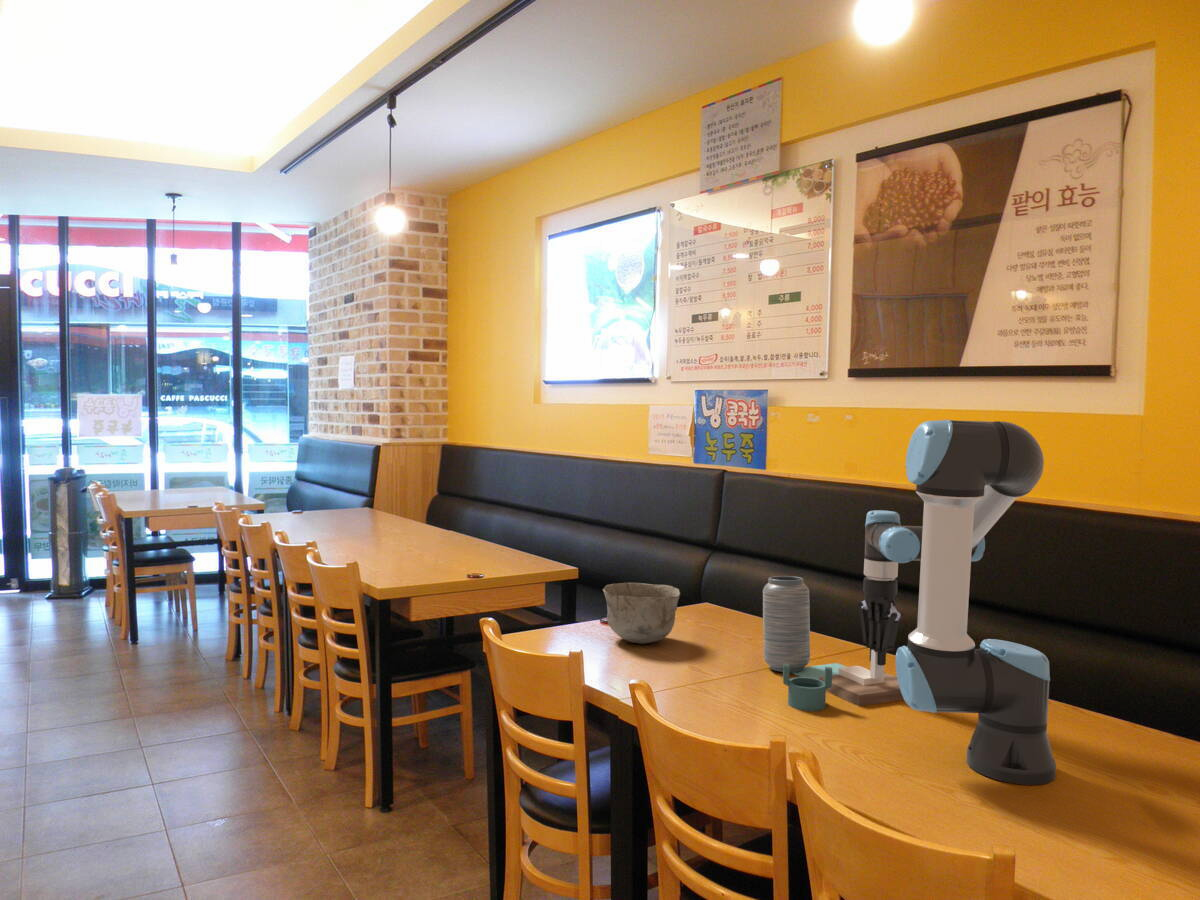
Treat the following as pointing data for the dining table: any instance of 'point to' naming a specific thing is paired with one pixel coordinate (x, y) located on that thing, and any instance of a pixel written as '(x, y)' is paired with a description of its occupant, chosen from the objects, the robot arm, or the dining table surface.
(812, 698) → the bracket
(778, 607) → the vase
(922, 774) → the dining table surface
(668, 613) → the bowl
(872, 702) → the brown wooden flat board
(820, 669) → the mat
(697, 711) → the dining table surface
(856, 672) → the white rectangular block
